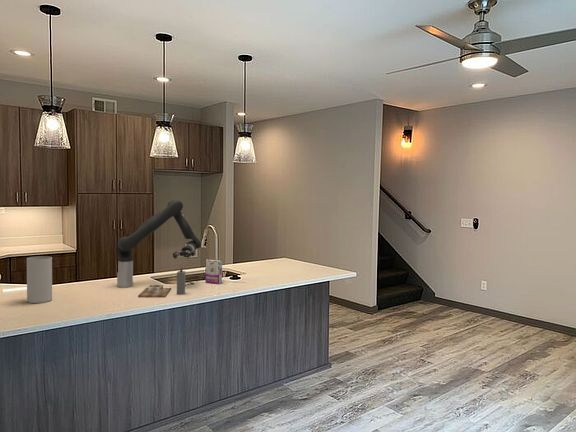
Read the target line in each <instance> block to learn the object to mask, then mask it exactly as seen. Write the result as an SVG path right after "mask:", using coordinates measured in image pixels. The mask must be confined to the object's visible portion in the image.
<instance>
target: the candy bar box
mask: <svg viewBox="0 0 576 432" xmlns="http://www.w3.org/2000/svg"><path fill="white" fill-rule="evenodd" d="M222 283H223V260H219V259H206V260H205V284H212V285H213V284H214V285H220V284H222Z"/></svg>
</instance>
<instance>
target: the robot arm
mask: <svg viewBox="0 0 576 432" xmlns="http://www.w3.org/2000/svg"><path fill="white" fill-rule="evenodd" d="M166 206H167V207H165V208H164V209H163V210H161V211H159V212H158V213H155V214H153V215H152V216H150V217H148V218H147V219H146V220H145V221H143V222H142V223H141V225H140V226H138V228H137V229H136V230H135V231H134V232H133V233H131V234H130V235H128V236H123V237H120V238H119V239H118V240H117V243H116V244H117V245H116V248H117V249H116V250H117V259H118V260H117V263H118V265H117V269H118V270H117V273H116V276H117V279H116V281H117V282H116V284H117V285H116V287H117V288H131V287H133V285H134V283H133V282H134V280H133V279H134V273H133V272H134V271H133V270H134V257H133V253H132V252H133V249H134V248H135V247H136V246H137V245H138V244H139V243H140V242H142V241H143V240H144V239H145V238H148V236H149V235H152V233H154V232H155V231H157V230H158V229H160V227H161V226H163V225H164V224H165V223H166V222H167V221H168V220H170V219H171V218H174V220H175V222H176V223H177V224H178V227H179V228H180V231H181V234H182V235H183V238H184V239H186V240H190V241H187V242H186V245H184V246H182V248H181V249H180V251H175V252H173V253H172V258H173V259H177V258H182V257H183V258H187V259H189V258H190V257H194V256H195V255H196V250H198V249H200V248H202V242H201V240H200V238H198V237H197V235H195V233H194V232H193V229H192V228H191V226H190V225H191V224H190V223H188V220H186V218H185V217H184V215H183V213H182V210H183V208H184V204H183V202H182V201H181V200H178V199H172V200H170V201H168V203H167V205H166Z"/></svg>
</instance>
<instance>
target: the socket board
mask: <svg viewBox="0 0 576 432" xmlns="http://www.w3.org/2000/svg"><path fill="white" fill-rule="evenodd" d="M170 290H172V288H171V287H164V284H149V285H148V286H147V287H145V288H144V289H143V290H142V291H141V292H140V293H139V294H138V296H137V297H138V298H166V297H167V296H168V294H169V293H170V292H171V291H170Z"/></svg>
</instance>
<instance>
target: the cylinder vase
mask: <svg viewBox="0 0 576 432" xmlns="http://www.w3.org/2000/svg"><path fill="white" fill-rule="evenodd" d="M52 300H53V257H52V256H48V255H45V256H44V255H41V256H40V255H39V256H29V257H27V258H26V301H27V303H29V304H44V303H48V302H51V301H52Z"/></svg>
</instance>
